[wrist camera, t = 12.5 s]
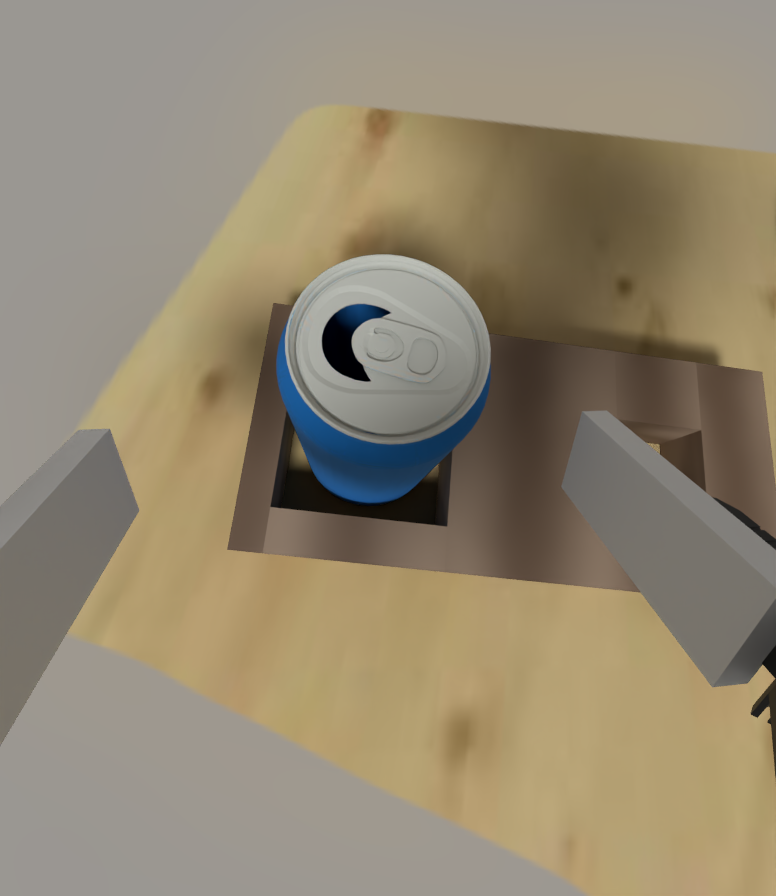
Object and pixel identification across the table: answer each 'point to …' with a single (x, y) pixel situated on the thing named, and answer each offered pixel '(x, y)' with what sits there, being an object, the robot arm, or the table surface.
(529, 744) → the table surface
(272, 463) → the hole board
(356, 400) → the beverage can
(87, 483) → the robot arm
